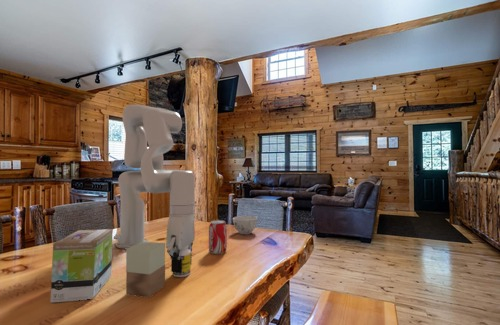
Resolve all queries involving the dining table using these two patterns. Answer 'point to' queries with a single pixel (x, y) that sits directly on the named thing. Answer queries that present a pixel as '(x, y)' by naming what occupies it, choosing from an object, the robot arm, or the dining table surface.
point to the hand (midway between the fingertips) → (181, 267)
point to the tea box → (81, 265)
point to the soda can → (217, 237)
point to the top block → (145, 257)
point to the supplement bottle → (184, 262)
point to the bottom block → (145, 282)
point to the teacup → (245, 224)
